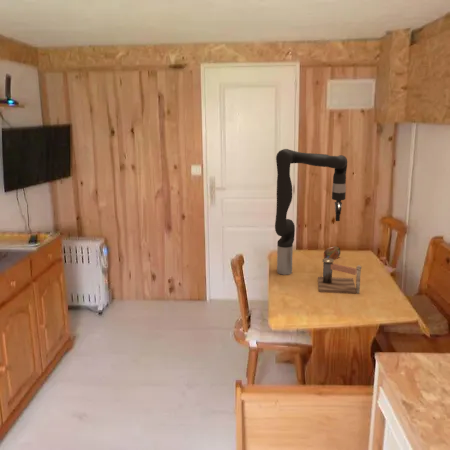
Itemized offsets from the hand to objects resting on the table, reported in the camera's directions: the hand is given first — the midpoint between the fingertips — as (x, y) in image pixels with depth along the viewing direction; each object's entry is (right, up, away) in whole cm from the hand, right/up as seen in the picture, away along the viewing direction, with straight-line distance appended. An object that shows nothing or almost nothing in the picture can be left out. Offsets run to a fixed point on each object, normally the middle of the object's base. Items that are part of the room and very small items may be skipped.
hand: (337, 220), depth 266 cm
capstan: (-1, -36, -6) cm, 36 cm away
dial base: (-1, -37, -4) cm, 37 cm away
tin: (+7, -26, +43) cm, 50 cm away
